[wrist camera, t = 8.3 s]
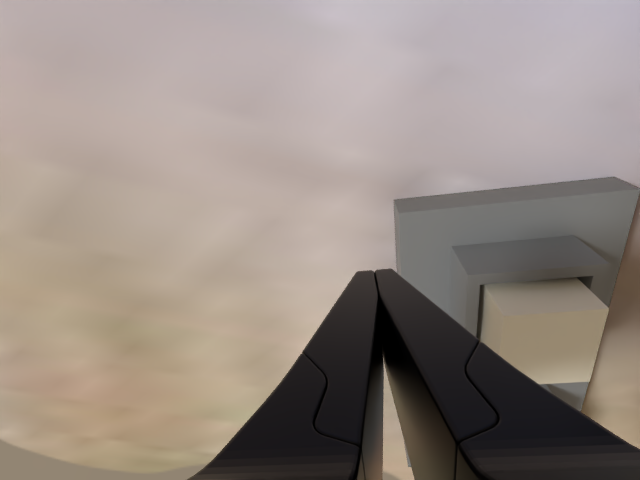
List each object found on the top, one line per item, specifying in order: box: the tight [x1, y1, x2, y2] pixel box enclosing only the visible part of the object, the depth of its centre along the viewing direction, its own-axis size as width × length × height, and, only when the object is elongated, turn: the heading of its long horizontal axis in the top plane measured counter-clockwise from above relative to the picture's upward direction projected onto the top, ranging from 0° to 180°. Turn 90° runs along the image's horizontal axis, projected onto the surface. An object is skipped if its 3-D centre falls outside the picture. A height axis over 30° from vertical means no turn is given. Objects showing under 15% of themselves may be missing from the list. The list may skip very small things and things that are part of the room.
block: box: [394, 177, 640, 467], centre depth 24 cm, size 12×22×5 cm, turn 7°
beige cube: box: [476, 277, 609, 384], centre depth 19 cm, size 4×4×4 cm
